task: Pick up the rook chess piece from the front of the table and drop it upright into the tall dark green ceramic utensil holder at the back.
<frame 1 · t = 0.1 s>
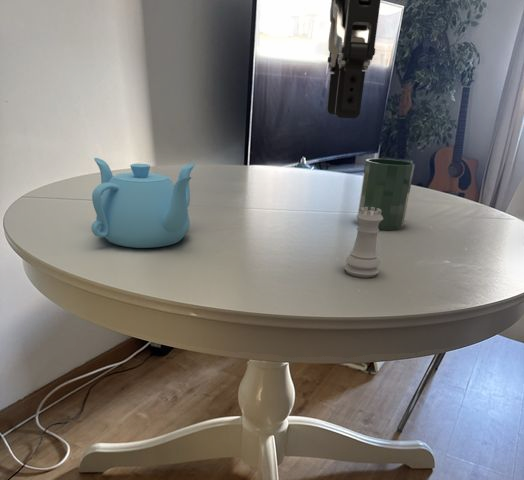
hand: (341, 115, 47), 18 cm above the table, tool pointing down, fingers open, 8 cm apart
rook chess piece: (360, 274, 62), on the table
teapot: (150, 238, 71), on the table
holder: (379, 224, 85), on the table
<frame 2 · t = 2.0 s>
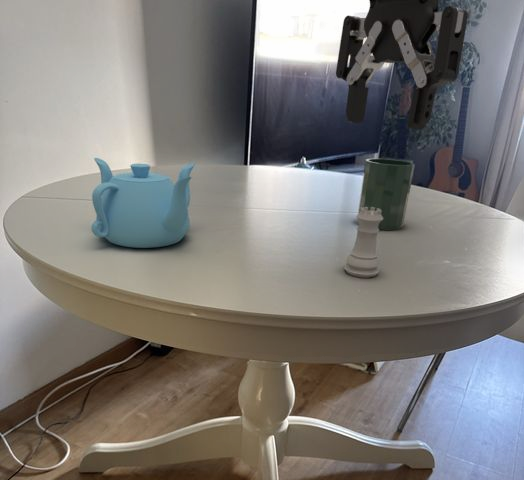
hand: (383, 125, 53), 17 cm above the table, tool pointing down, fingers open, 8 cm apart
nothing on the table moved.
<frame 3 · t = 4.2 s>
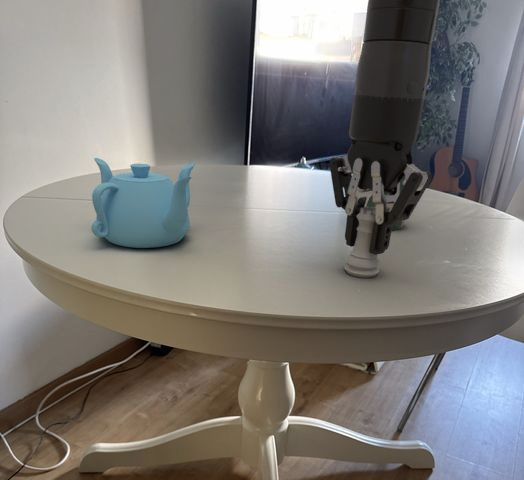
hand: (364, 248, 60), 3 cm above the table, tool pointing down, fingers closed on rook chess piece, 3 cm apart
rook chess piece: (360, 273, 62), on the table, touching gripper
everything else where it was.
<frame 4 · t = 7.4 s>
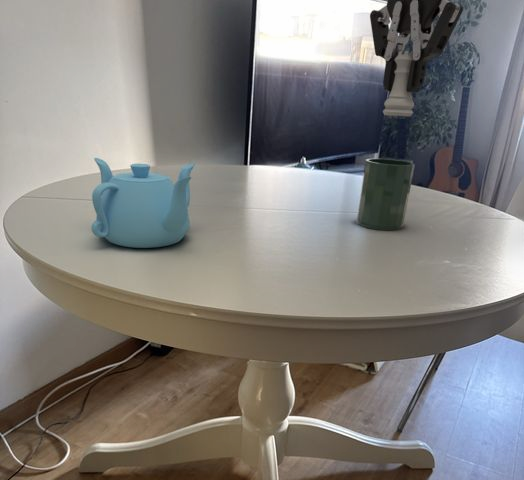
hand: (401, 91, 69), 21 cm above the table, tool pointing down, fingers closed on rook chess piece, 3 cm apart
rook chess piece: (397, 117, 71), point 17 cm above the table, touching gripper
everything else where it was.
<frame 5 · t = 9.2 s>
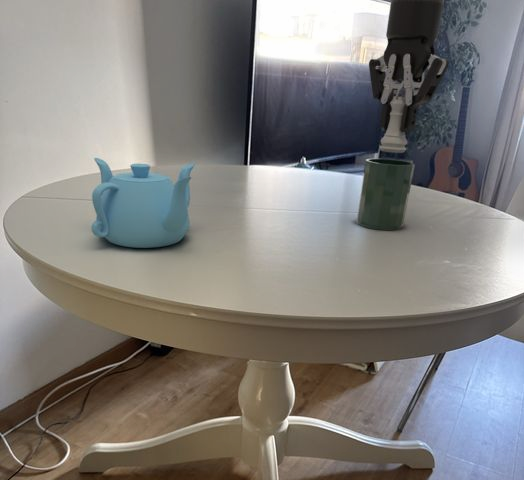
hand: (395, 130, 78), 15 cm above the table, tool pointing down, fingers closed on rook chess piece, 3 cm apart
rook chess piece: (392, 152, 79), point 12 cm above the table, touching gripper
everything else where it was.
when the fingers open (11 cm above the table, at t = 10.8 s): rook chess piece drops 7 cm, resting on holder.
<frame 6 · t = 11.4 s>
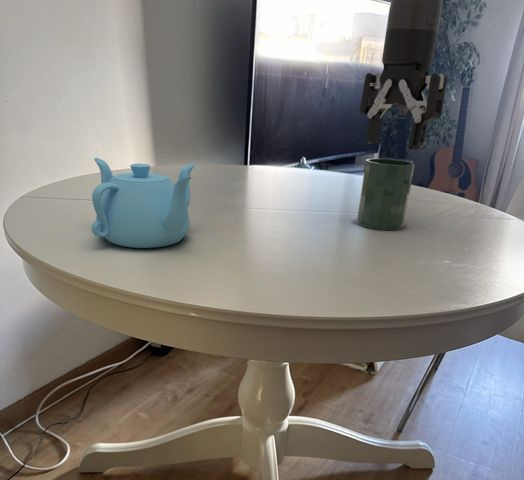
hand: (392, 146, 79), 13 cm above the table, tool pointing down, fingers open, 8 cm apart
rook chess piece: (380, 222, 85), resting on holder
everything else where it was.
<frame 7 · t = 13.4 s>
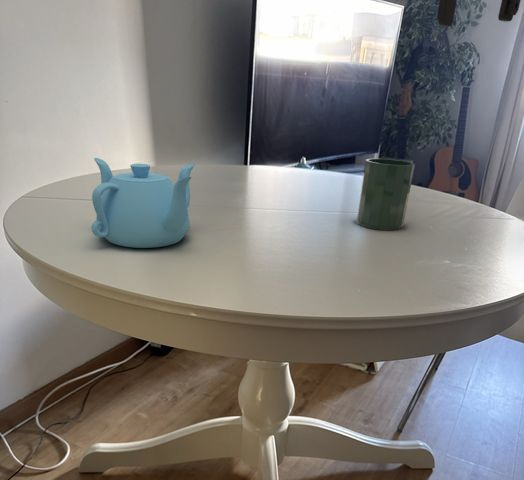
hand: (473, 23, 62), 29 cm above the table, tool pointing down, fingers open, 8 cm apart
nothing on the table moved.
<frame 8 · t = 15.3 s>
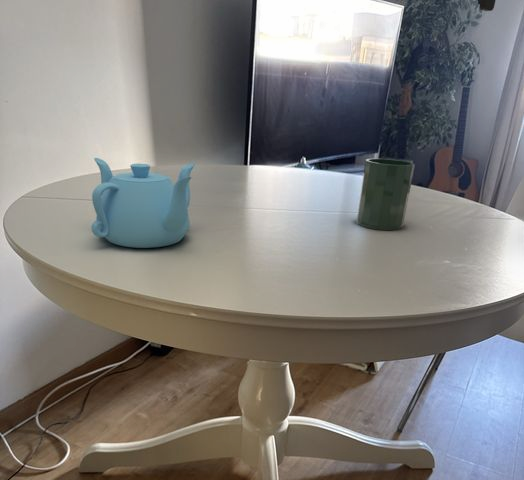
hand: (519, 7, 56), 30 cm above the table, tool pointing down, fingers open, 8 cm apart
nothing on the table moved.
at the end: rook chess piece 0.2 cm off-centre in the holder, point 0.4 cm above the holder's base; the gripper is holding nothing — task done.
